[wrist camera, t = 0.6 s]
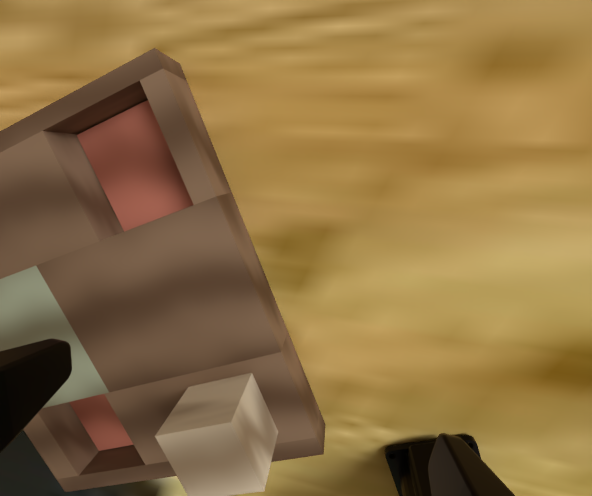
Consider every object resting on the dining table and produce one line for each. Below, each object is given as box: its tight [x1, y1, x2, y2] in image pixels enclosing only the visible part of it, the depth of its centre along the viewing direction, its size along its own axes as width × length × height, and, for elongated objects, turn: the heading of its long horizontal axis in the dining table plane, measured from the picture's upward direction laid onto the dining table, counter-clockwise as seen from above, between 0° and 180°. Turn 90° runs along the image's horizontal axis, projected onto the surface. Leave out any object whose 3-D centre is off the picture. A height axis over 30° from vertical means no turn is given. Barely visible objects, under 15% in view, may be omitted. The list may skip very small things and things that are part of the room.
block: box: [155, 373, 278, 496], centre depth 19 cm, size 5×5×4 cm
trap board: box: [0, 48, 325, 492], centre depth 22 cm, size 27×24×2 cm
